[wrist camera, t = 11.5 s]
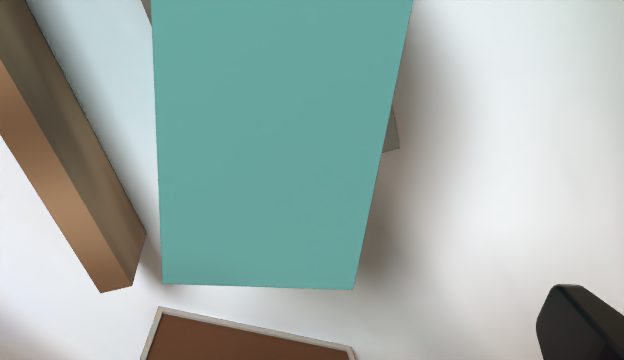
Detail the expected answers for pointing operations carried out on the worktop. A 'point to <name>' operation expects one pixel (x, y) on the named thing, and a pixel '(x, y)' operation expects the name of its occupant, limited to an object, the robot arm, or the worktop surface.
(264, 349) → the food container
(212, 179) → the teal block
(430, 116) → the worktop surface
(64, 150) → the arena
